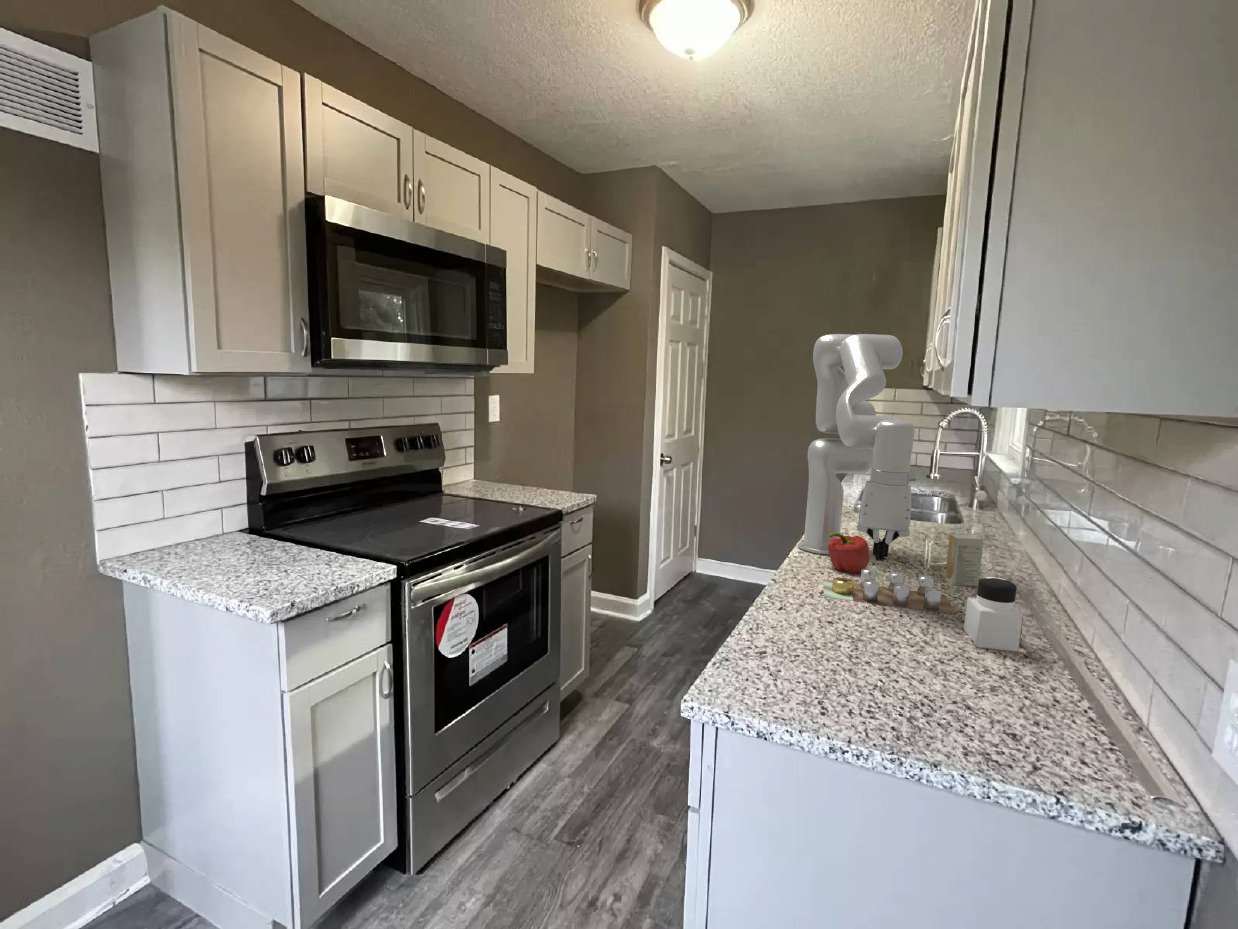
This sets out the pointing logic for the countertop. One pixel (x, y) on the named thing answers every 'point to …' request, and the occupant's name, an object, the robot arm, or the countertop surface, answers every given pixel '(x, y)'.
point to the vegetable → (848, 553)
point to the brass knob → (842, 586)
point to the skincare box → (964, 559)
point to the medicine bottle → (994, 616)
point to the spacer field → (900, 589)
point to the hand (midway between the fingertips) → (879, 558)
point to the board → (888, 598)
